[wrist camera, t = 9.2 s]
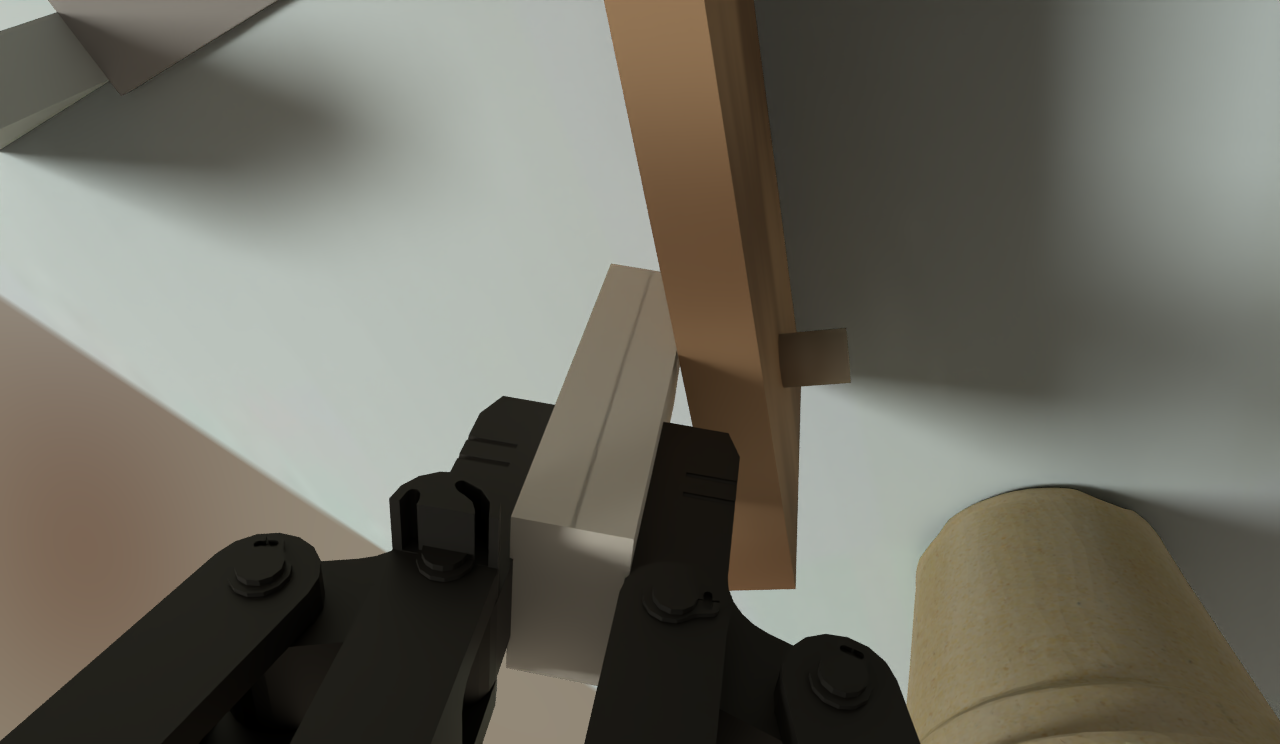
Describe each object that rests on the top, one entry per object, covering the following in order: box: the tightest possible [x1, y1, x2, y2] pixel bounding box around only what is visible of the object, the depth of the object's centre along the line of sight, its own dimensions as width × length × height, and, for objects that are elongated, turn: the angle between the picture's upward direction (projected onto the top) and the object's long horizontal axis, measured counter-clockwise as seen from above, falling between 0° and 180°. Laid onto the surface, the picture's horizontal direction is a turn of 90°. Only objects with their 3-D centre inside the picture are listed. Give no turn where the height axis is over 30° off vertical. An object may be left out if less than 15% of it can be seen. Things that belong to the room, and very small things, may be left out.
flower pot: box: [907, 488, 1280, 744], centre depth 21 cm, size 9×9×9 cm
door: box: [604, 0, 851, 591], centre depth 15 cm, size 14×2×8 cm, turn 11°
